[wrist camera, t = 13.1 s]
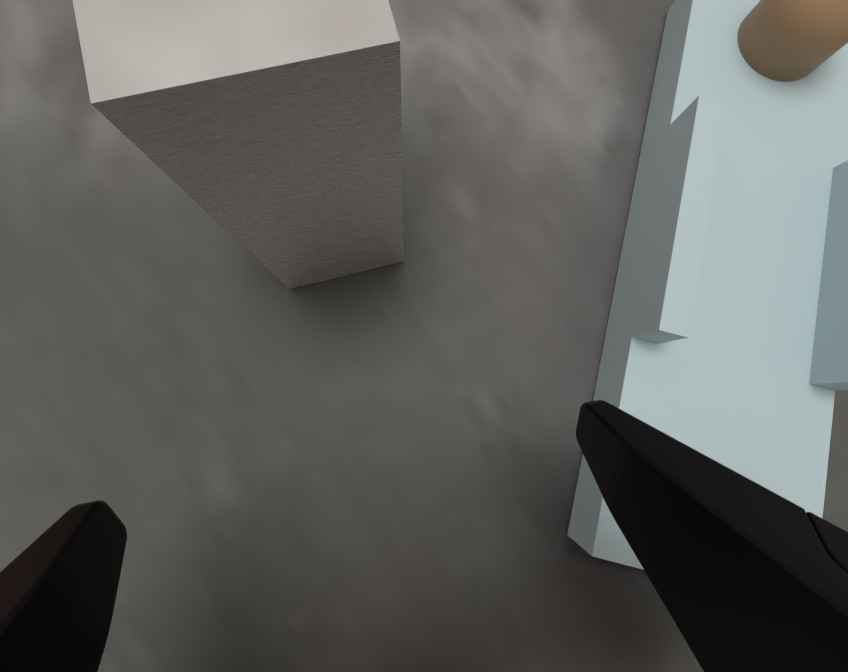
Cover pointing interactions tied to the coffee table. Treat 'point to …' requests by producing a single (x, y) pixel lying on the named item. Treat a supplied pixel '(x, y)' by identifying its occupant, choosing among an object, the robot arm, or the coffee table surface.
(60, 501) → the coffee table surface
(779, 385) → the blue stand
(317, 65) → the white rectangular block
